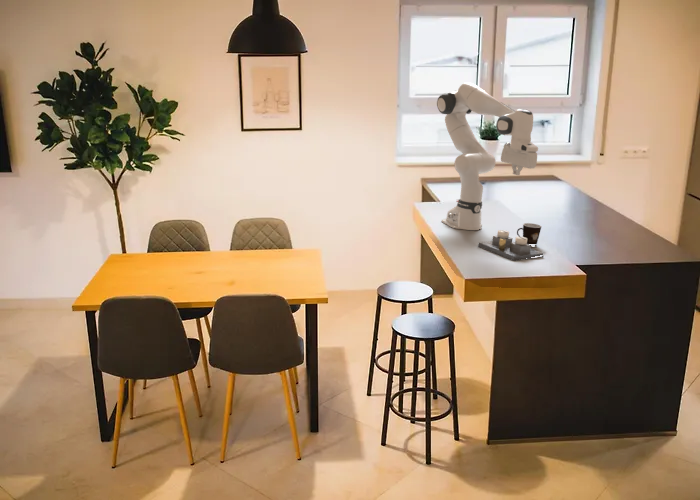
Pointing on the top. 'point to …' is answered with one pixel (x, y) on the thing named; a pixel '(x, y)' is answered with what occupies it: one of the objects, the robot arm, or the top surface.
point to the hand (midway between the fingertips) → (516, 174)
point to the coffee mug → (530, 232)
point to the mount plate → (510, 249)
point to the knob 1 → (503, 234)
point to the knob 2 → (521, 240)
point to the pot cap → (502, 243)
